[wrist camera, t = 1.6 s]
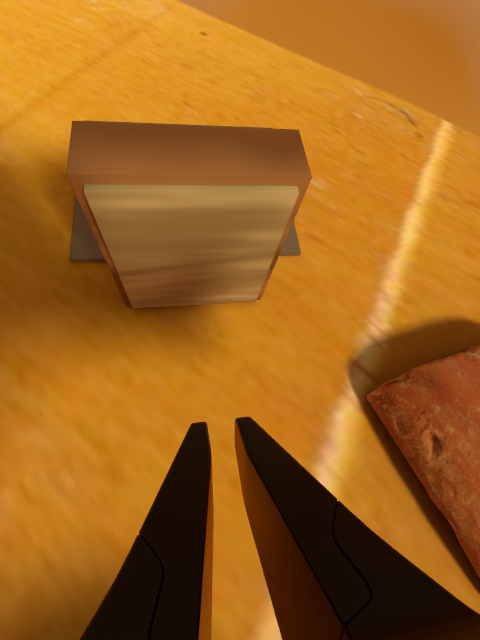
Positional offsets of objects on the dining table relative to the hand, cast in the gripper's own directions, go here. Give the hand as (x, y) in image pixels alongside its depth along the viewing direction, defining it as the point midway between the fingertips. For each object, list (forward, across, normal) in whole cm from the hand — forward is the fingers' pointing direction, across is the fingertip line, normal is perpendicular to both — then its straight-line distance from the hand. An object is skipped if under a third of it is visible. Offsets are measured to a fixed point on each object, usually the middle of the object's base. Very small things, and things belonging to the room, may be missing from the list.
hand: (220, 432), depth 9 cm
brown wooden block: (+17, 0, +1) cm, 17 cm away
